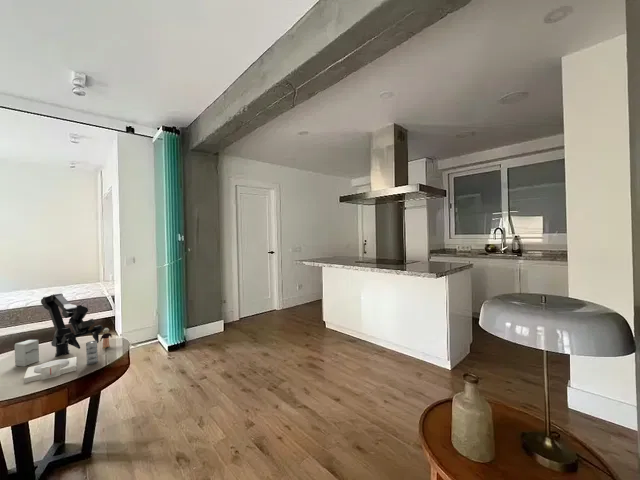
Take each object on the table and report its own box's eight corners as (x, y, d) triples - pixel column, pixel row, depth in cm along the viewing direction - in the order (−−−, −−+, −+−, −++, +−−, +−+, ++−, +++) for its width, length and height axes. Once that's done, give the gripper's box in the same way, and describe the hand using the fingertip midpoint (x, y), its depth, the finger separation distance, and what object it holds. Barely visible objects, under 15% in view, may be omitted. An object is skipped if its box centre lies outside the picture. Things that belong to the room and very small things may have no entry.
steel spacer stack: (86, 362, 165) (85, 342, 165) (97, 360, 168) (96, 340, 168) (86, 365, 161) (86, 344, 161) (98, 363, 164) (97, 342, 164)
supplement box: (24, 366, 162) (23, 344, 162) (14, 365, 163) (13, 343, 163) (39, 361, 169) (39, 339, 169) (30, 360, 170) (29, 339, 170)
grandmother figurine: (103, 349, 184) (103, 330, 184) (98, 349, 185) (98, 329, 185) (114, 345, 192) (113, 326, 192) (109, 344, 192) (108, 326, 192)
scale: (28, 371, 155) (27, 361, 155) (76, 360, 168) (76, 350, 168) (23, 384, 141) (22, 372, 141) (76, 371, 154) (75, 360, 154)
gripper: (63, 320, 159) (74, 342, 155) (100, 311, 176) (112, 331, 172) (56, 332, 163) (67, 354, 158) (93, 323, 180) (104, 342, 175)
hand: (89, 345), depth 166 cm, fingers open, 9 cm apart
